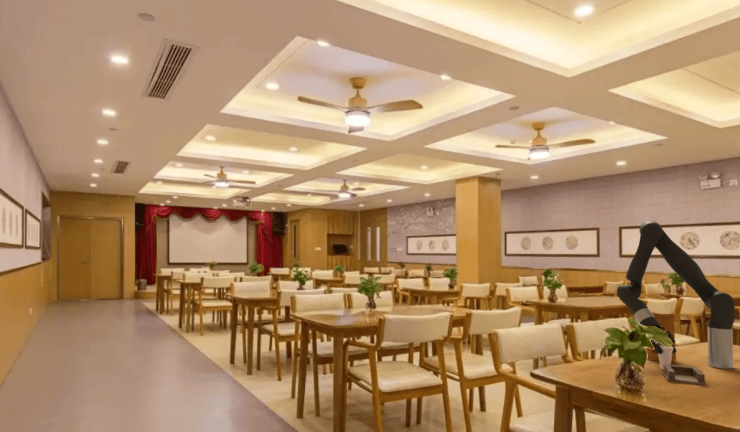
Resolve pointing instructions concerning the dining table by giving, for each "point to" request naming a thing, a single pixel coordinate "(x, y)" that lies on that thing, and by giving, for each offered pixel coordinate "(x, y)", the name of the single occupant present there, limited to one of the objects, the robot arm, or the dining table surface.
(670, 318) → the coffee package
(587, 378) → the dining table surface
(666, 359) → the smoothie
